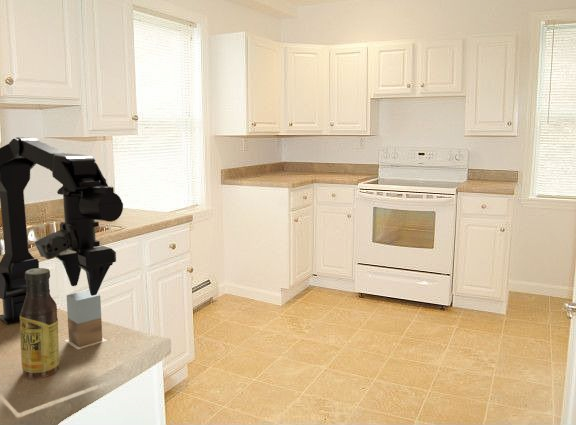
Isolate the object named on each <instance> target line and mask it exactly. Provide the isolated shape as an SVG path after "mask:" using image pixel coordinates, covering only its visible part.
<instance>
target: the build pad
mask: <svg viewBox="0 0 576 425" xmlns="http://www.w3.org/2000/svg"><path fill="white" fill-rule="evenodd" d="M107 341H108V340H107V339H105V338H104V337H102V341H99V342H96V343H92V344H89V345H86V346H82V347H78V346H77V345H75V344H74V343H72V342H71V341H69V338H68V339H64V342H66V343H67V344H69V346H72V347H73V348H74V349H76V350H81V349H83V348H87V347H91V346H94V345H97V344H100V343H104V342H107Z"/></svg>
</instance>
